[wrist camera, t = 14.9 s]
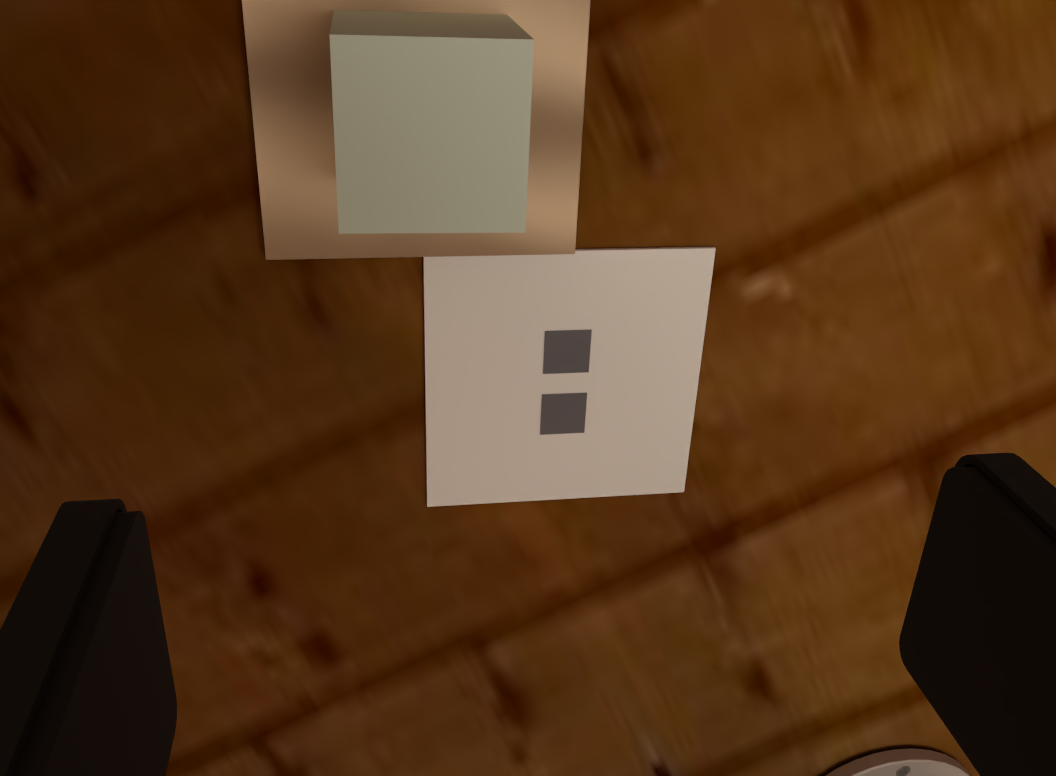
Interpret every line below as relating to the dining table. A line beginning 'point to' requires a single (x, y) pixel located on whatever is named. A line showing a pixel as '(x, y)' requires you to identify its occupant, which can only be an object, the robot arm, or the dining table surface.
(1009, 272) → the dining table surface
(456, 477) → the tile
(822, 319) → the dining table surface
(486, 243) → the beige square tile
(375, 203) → the sage block
